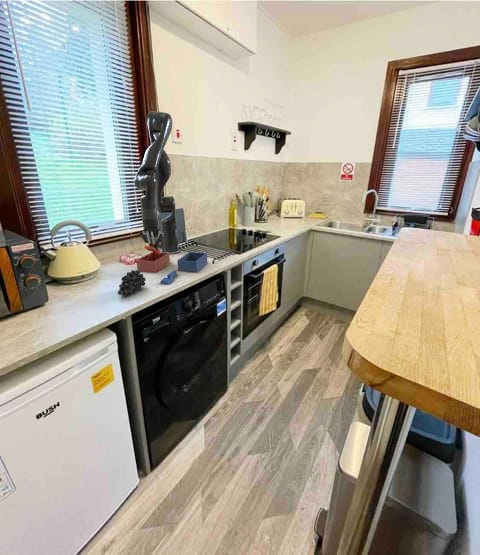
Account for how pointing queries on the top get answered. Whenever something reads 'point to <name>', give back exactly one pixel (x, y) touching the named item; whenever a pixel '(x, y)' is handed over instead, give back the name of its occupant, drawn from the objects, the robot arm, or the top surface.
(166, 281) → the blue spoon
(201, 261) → the blue bin
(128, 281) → the fruit
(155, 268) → the red bin
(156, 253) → the red lumpy bar
